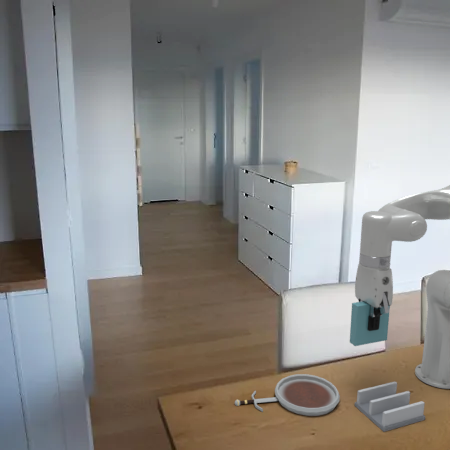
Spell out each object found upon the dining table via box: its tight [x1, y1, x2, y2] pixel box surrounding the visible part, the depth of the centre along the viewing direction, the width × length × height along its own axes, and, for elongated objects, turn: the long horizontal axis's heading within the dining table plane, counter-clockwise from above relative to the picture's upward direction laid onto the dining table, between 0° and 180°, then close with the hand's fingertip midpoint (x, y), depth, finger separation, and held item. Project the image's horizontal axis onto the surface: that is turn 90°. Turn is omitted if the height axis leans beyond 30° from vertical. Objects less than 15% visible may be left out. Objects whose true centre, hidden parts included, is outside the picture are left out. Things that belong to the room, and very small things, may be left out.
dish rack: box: [354, 381, 426, 433], centre depth 119 cm, size 13×11×4 cm
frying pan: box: [234, 373, 341, 417], centre depth 125 cm, size 17×3×28 cm
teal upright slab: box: [349, 301, 391, 347], centre depth 124 cm, size 10×2×11 cm, turn 110°
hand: (369, 326), depth 125 cm, fingers closed on teal upright slab, 2 cm apart
